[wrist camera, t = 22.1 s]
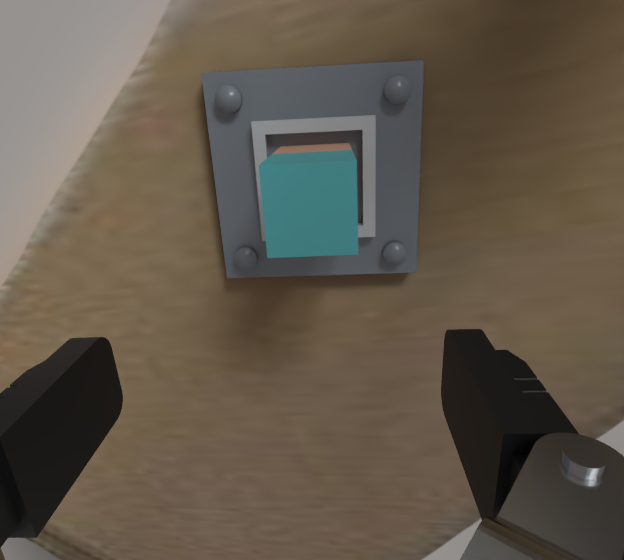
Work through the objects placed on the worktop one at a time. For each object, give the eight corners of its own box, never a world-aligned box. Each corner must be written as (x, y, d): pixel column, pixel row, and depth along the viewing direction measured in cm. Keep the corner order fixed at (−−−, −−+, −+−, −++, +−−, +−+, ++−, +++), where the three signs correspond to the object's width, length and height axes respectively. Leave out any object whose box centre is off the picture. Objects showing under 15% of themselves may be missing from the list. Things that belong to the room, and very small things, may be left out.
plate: (206, 74, 36) (197, 72, 34) (420, 61, 35) (426, 58, 33) (230, 272, 42) (224, 282, 40) (413, 266, 41) (418, 276, 39)
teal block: (271, 154, 31) (258, 165, 25) (352, 149, 31) (356, 160, 25) (278, 231, 33) (267, 258, 27) (354, 228, 33) (358, 254, 27)
